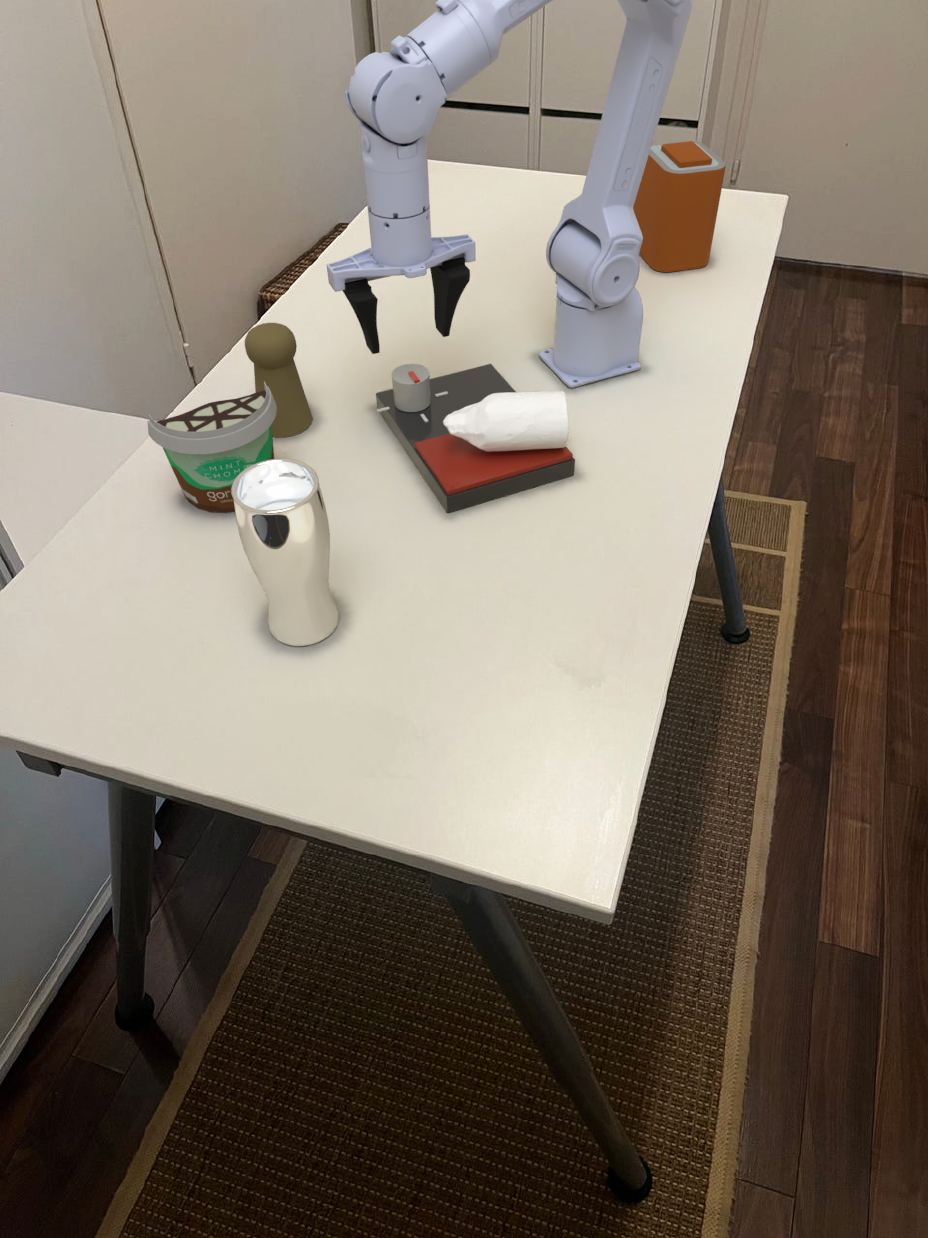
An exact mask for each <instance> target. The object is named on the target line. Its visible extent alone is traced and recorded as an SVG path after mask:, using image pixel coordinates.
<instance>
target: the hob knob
mask: <svg viewBox="0 0 928 1238" xmlns="http://www.w3.org/2000/svg"><path fill="white" fill-rule="evenodd" d="M430 377H431V376H430V371H429V369H428V367H426V366H425V365H422V364H418V363H405V364H401V365H399V366H397V367H395V368H394V369H393V370H392V372H391V383H392V384H391V385H392V389H393V397H394V405H395V406H396V408H398V409H399V410H401V411H404V412H418V411H422V410H424V409H426V408H427V407H428V406H429V405H430V403H431V392H430V379H431V378H430Z"/></svg>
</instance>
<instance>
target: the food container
mask: <svg viewBox="0 0 928 1238" xmlns="http://www.w3.org/2000/svg"><path fill="white" fill-rule="evenodd" d="M276 412H277V406H276V402H275V400H274V398H273V395H272V393H271V391H270V389H269V387H267V385H266V383H265V381H264V391H261V392H254V393H251V394H248V395H244V396H241V397H237V398H231V399H222V400H217V401H210V402H208V403H205V404H203V405H200V406H197V407H196V408H193V409H192V410H189V411H186V412H184V413H181V414H178V415H174V416H171V417H167V418H164V419H161V420H157V421H156V420H155V419H154V418H153V417H152V416H151V414H150V413H148V419H149V420H147V432H148V436H149V437H150V439H151V440H152V441H154V443H156V444H157V445H158V446H160V447H161V448H162V449H163V452H164V454H165V457H166V458H167V460H168V463H169V466H170V467H171V469H172V472H173V474H174V476H175V479H176V480H177V482H178V485H179V487H180V489H181V492H182V493H183V495H184V497H185V500H187V502H188V503H189V504H191V505H192V506H194V507H195V508H197V509H198V510H202V511H206V512H208V513H219V514H228V513H229V514H230V513H235V508H234V501H233V497H232V492H231V489H232V484H233V482H234V480H235V479H236V477H237V476H238V475H239V474H240V473H241V472H242V471H244V470H245V469H246V468H248V467H250V466H252V465H254V464H256V463H259V462H262V461H266V460H271V459H275V453H274V452H275V451H274V439H273V438H274V437H272V426H271V424H272V423H273V421H274V419H275V416H276Z"/></svg>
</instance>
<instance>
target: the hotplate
mask: <svg viewBox="0 0 928 1238" xmlns="http://www.w3.org/2000/svg"><path fill="white" fill-rule="evenodd" d="M415 448H416V449H417V451H418V452H419V454H420V455H421V457H422V458H423V460H424V461H425V463H426V464H427V466H428V467H429V468H430V470H431V471H432V473H433V474H434V476H435V477H436V479H437V480H438V482H439V483H440V484H441V486H442V487H443V489H444V490H445V492H446V493H447V495H451V494H455V493H458V492H461V491H465V490H468V489H472V488H475V487H478V486H482V485H485V484H489V483H492V482H495V481H499V480H502V479H506V478H509V477H512V476H516V475H519V474H523V473H526V472H529V471H533V470H536V469H540V468H543V467H547V466H550V465H553V464H557V463H560V462H564V461H567V460H570V459H573V458H574V453H572V451H571V450H570V449H569V448H568V447H567V446H566V447H564V448H551V449H531V450H513V451H492V452H486V451H485V450H481V449H479V448H477V447H476V446H474V445H472V444H470V443H469V442H468V441H466V440H464V439H462V438H459V437H456V436H454V435H451V434H450V433H449V434H445V435H442V436H438V437H434V438H431V439H427V440H423V441H420V442H416V443H415Z"/></svg>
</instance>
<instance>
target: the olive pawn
mask: <svg viewBox="0 0 928 1238" xmlns="http://www.w3.org/2000/svg"><path fill="white" fill-rule="evenodd" d="M297 345H298V344H297V340H296V337H295V334H294V333H293V331H292V330H291V329H290V328H289V327H288V326H287V325H285V324H283V323H278V322H265V323H260V324H257V325H255V326H253V327H252V328H251V329H249V331H247V333H246V336H245V338H244V349H245V354H246V355H247V357H248V359H249V360H250V362H252V363H253V373H254V375H253V376H254V389H255V390H254V391H255V392H254V393H256V392H261V391H264V381H265V383H266V385H267V387H269V389H270V391H271V393H272V395H273V398H274V400H275V402H276V406H277V412H276V416H275V419H274V421H273V423H272V424H271V426H272V438H290V437H294V436H297V435H300V434H302V433H304V432H305V431H306V430H308V429H309V428H310V427H311V426H312V423H313V420H314V417H313V415H312V412H311V409H310V405H309V402H308V399H307V396H306V393H305V390H304V386H303V384H302V381H301V378H300V375H299V371H298V368H297V365H296V362H295V359H294V358H295V356H296V354H297V347H298V346H297Z"/></svg>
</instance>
